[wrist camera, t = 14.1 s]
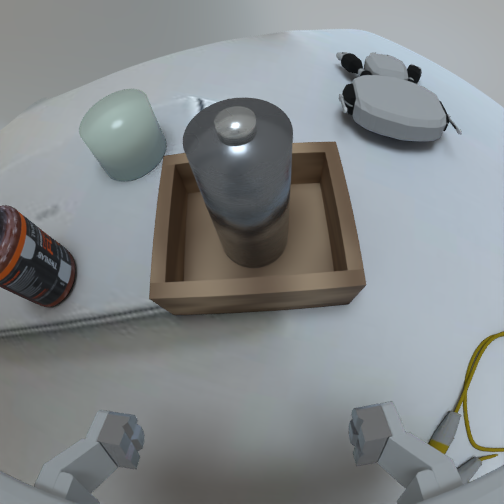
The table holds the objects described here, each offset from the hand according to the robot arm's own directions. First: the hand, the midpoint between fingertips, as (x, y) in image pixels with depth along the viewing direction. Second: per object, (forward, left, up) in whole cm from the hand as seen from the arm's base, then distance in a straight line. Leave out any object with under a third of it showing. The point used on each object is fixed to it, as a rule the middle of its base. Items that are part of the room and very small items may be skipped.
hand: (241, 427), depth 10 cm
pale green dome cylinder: (-12, +23, -11) cm, 28 cm away
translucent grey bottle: (0, +12, -10) cm, 16 cm away
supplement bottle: (-19, +10, -11) cm, 24 cm away
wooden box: (0, +12, -11) cm, 16 cm away
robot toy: (+16, +28, -11) cm, 34 cm away
